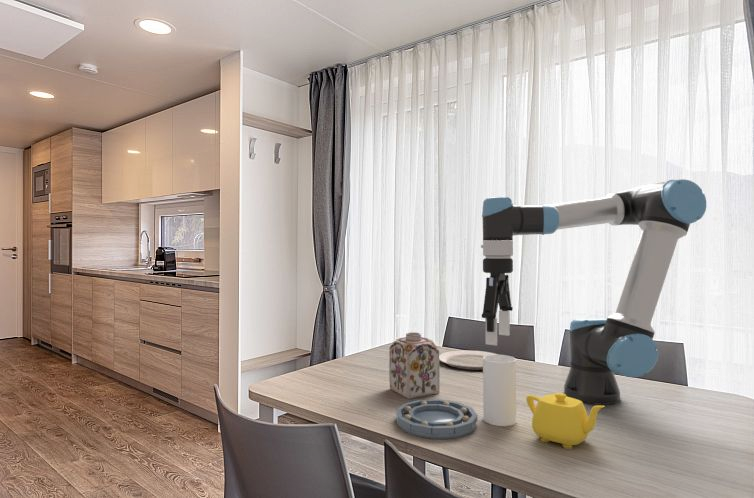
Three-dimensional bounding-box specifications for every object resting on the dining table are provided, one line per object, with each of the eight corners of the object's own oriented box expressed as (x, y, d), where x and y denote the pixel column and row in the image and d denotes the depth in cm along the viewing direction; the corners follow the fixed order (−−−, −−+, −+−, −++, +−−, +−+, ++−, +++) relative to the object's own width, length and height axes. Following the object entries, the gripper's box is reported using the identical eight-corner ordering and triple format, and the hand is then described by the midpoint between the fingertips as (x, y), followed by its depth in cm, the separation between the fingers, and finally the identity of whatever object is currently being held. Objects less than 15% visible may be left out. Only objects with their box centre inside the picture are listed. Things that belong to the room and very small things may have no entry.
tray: (485, 416, 122) (485, 406, 122) (462, 445, 104) (462, 433, 104) (415, 404, 131) (415, 395, 131) (383, 429, 114) (383, 419, 114)
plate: (427, 358, 186) (427, 353, 186) (483, 353, 194) (483, 348, 194) (457, 375, 162) (457, 369, 162) (520, 368, 170) (520, 363, 170)
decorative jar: (388, 388, 146) (388, 332, 146) (419, 383, 151) (419, 328, 151) (408, 400, 136) (407, 338, 135) (440, 393, 141) (440, 334, 141)
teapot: (613, 444, 104) (613, 397, 104) (595, 461, 96) (595, 410, 96) (536, 423, 117) (536, 381, 117) (515, 436, 109) (515, 391, 109)
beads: (478, 412, 122) (478, 405, 122) (458, 436, 106) (458, 429, 106) (417, 402, 130) (417, 396, 130) (390, 423, 114) (390, 416, 114)
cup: (517, 427, 115) (517, 362, 114) (483, 425, 116) (483, 361, 116) (514, 415, 123) (514, 355, 122) (482, 413, 124) (482, 353, 124)
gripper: (495, 256, 132) (495, 330, 132) (469, 258, 110) (469, 347, 110) (522, 256, 129) (522, 332, 129) (500, 259, 107) (501, 350, 107)
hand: (498, 339), depth 120 cm, fingers open, 13 cm apart
